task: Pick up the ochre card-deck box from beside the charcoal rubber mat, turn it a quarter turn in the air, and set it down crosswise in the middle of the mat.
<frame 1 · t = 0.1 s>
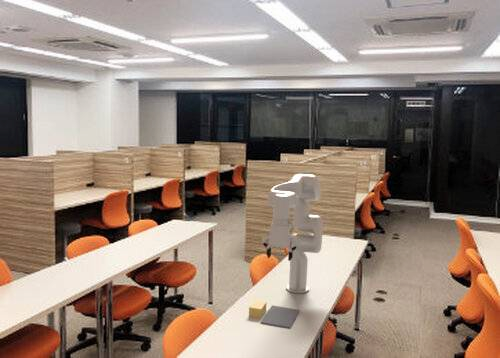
hand: (279, 258, 206), 31 cm above the table, tool pointing down, fingers open, 9 cm apart
deck box: (257, 313, 220), on the table
mat: (280, 316, 217), on the table
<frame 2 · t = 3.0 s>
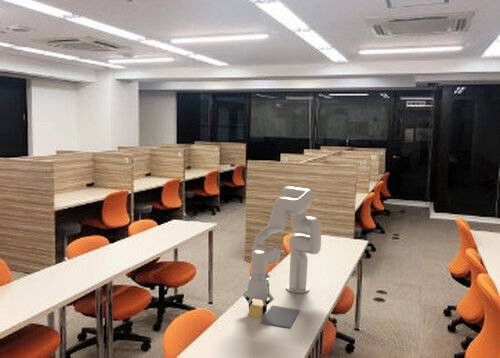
hand: (257, 311, 220), 1 cm above the table, tool pointing down, fingers closed on deck box, 6 cm apart
deck box: (257, 313, 220), on the table, touching gripper
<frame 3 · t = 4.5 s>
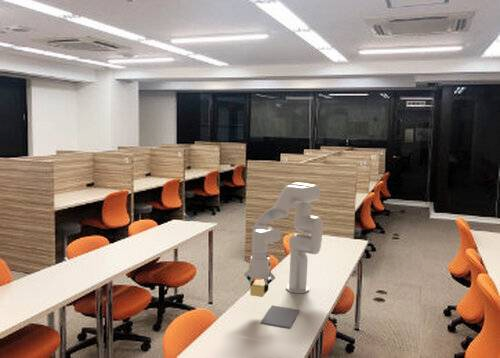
hand: (259, 290, 219), 11 cm above the table, tool pointing down, fingers closed on deck box, 6 cm apart
deck box: (259, 292, 219), point 10 cm above the table, touching gripper
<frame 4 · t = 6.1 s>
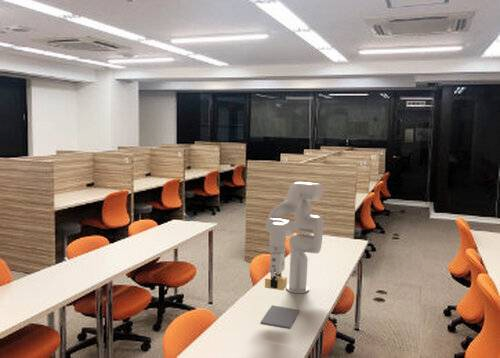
hand: (275, 284, 215), 15 cm above the table, tool pointing down, fingers closed on deck box, 6 cm apart
deck box: (275, 286, 216), point 14 cm above the table, touching gripper
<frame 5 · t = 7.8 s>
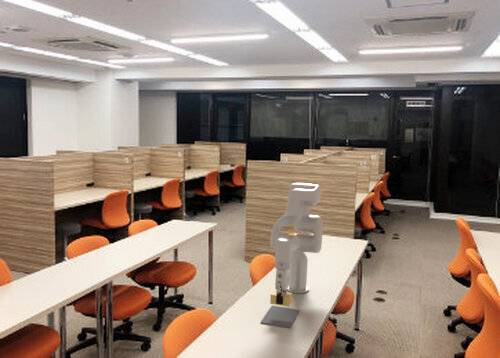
hand: (281, 300, 215), 8 cm above the table, tool pointing down, fingers closed on deck box, 6 cm apart
deck box: (281, 302, 215), point 7 cm above the table, touching gripper
when the fingers open (3 cm above the table, at t = 9.2 s): deck box drops 1 cm, resting on mat.
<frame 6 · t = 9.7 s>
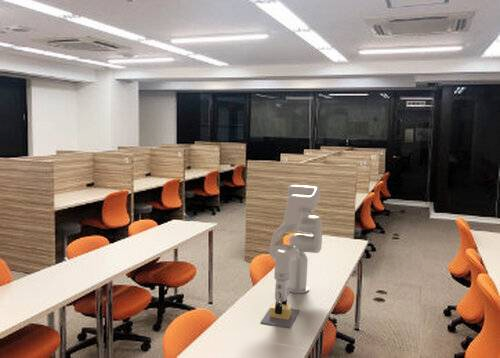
hand: (280, 309, 216), 4 cm above the table, tool pointing down, fingers open, 9 cm apart
deck box: (280, 315, 216), point 1 cm above the table, touching mat
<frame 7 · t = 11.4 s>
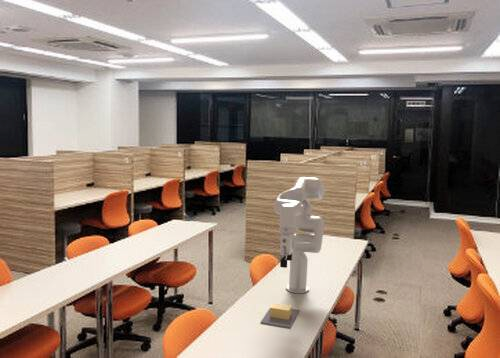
hand: (286, 263, 219), 24 cm above the table, tool pointing down, fingers open, 9 cm apart
nothing on the table moved.
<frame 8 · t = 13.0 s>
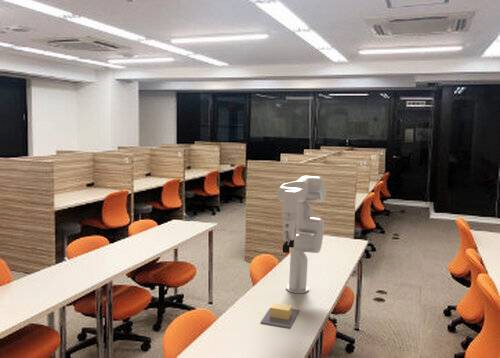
hand: (288, 249, 222), 30 cm above the table, tool pointing down, fingers open, 9 cm apart
nothing on the table moved.
at the end: deck box inside the target area on the mat (0.1 cm from its centre), point 0.6 cm above the mat's base; deck box touching mat; deck box tilted 0° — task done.
